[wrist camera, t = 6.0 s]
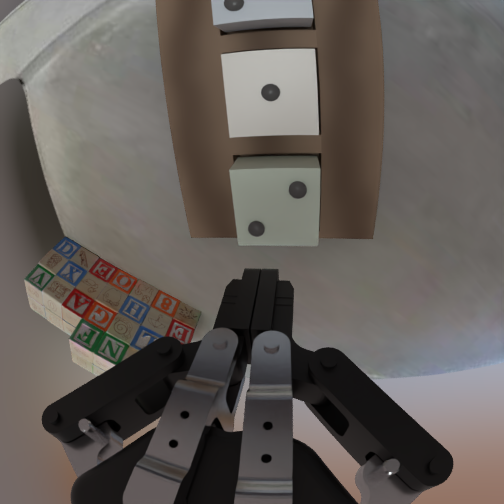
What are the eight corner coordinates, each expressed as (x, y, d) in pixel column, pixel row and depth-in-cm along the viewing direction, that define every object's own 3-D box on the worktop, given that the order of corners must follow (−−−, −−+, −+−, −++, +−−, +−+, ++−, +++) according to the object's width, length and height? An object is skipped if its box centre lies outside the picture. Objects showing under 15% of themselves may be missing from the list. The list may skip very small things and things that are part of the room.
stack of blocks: (64, 265, 36) (16, 322, 25) (65, 234, 32) (8, 294, 22) (188, 334, 39) (161, 409, 29) (203, 311, 36) (173, 394, 26)
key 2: (317, 155, 20) (320, 169, 17) (316, 225, 24) (318, 247, 21) (238, 157, 21) (228, 170, 18) (245, 225, 24) (237, 246, 22)
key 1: (312, 53, 17) (315, 48, 14) (315, 127, 20) (319, 135, 17) (231, 57, 18) (220, 54, 15) (238, 129, 21) (229, 138, 18)
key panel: (361, -32, 12) (369, -44, 10) (365, 222, 25) (372, 238, 23) (169, -18, 15) (154, -26, 12) (200, 221, 28) (191, 237, 26)
